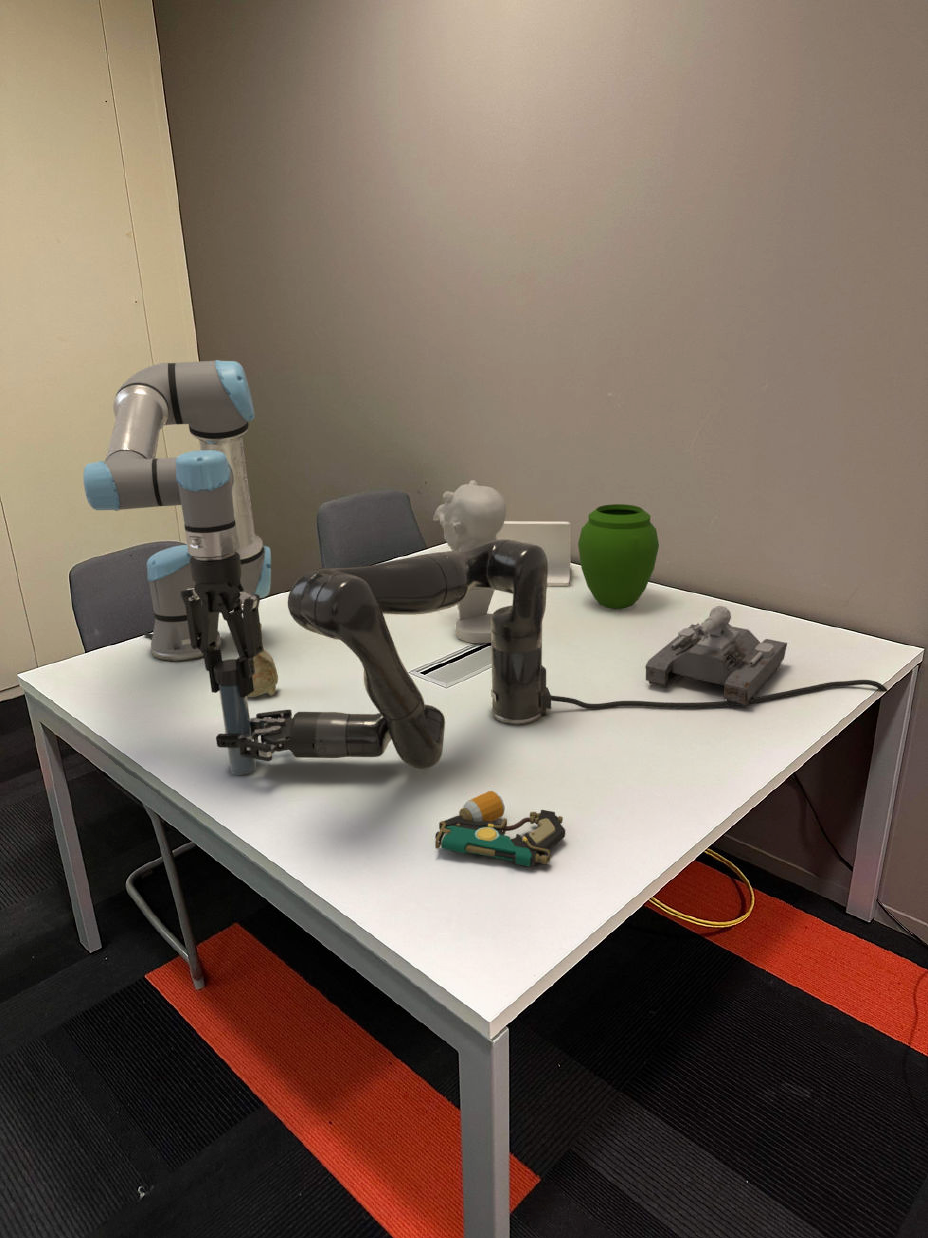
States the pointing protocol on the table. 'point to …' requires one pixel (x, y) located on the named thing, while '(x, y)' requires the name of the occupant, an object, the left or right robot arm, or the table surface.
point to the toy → (718, 657)
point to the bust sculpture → (468, 525)
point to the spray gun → (499, 832)
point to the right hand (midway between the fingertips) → (222, 733)
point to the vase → (618, 554)
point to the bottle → (236, 726)
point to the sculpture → (264, 674)
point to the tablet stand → (544, 545)
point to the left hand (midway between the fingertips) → (232, 691)
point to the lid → (226, 672)
